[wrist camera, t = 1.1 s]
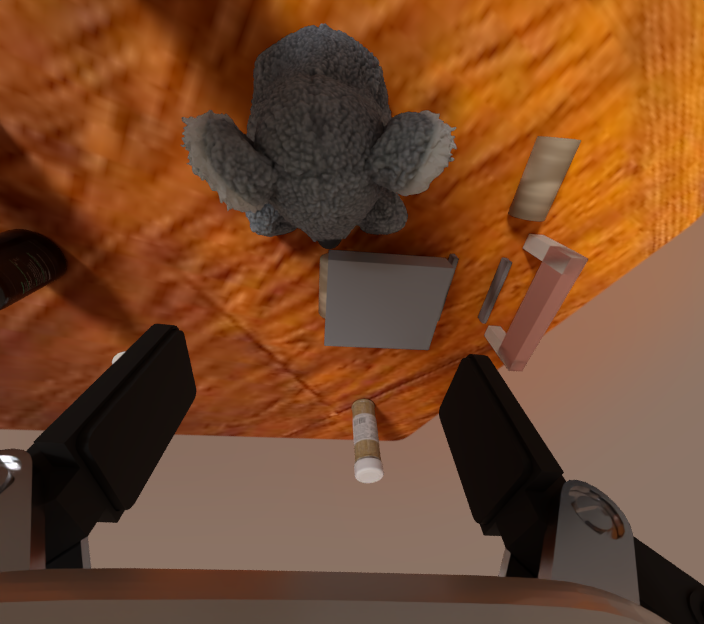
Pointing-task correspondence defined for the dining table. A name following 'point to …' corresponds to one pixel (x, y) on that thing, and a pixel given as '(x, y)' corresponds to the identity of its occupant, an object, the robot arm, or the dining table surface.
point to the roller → (543, 177)
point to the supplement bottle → (27, 264)
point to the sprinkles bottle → (366, 442)
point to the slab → (384, 299)
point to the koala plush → (319, 143)
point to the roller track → (453, 260)
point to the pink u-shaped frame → (537, 301)
